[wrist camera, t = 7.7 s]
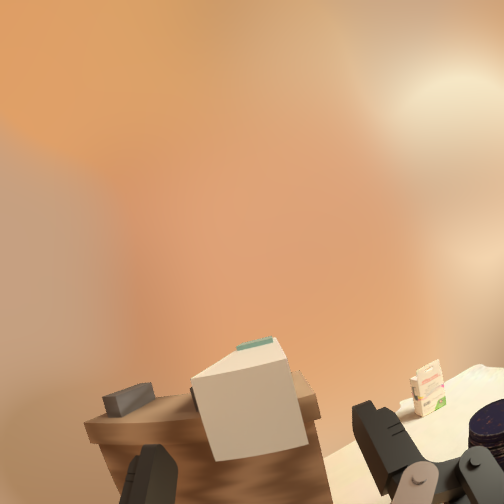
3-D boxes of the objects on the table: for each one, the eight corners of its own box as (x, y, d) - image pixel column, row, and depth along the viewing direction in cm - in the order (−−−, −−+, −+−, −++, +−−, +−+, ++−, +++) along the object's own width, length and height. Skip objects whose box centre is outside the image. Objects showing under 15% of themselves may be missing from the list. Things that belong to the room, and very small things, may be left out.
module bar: (283, 368, 32) (274, 334, 33) (308, 444, 9) (284, 348, 11) (251, 376, 32) (242, 342, 33) (215, 461, 9) (187, 369, 11)
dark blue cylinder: (453, 495, 21) (455, 427, 25) (493, 463, 22) (496, 394, 26) (487, 515, 11) (501, 442, 15) (529, 475, 12) (541, 398, 16)
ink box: (438, 401, 59) (431, 356, 63) (446, 404, 55) (440, 357, 58) (414, 413, 59) (407, 368, 63) (422, 418, 54) (415, 370, 58)
